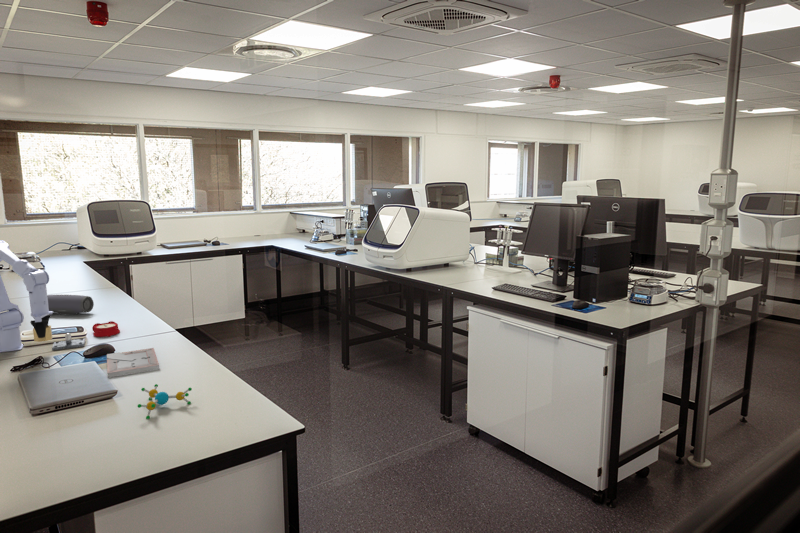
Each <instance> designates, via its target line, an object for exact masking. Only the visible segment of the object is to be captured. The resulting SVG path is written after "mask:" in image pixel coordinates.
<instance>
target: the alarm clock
mask: <svg viewBox="0 0 800 533" xmlns="http://www.w3.org/2000/svg"><path fill="white" fill-rule="evenodd" d="M92 331H93V337H97V338H103V337H104V338H105V337H107V338H108V337H109V338H110V337H111V336H116V335H118V334H119V333H121V330H120V328H119V324H118V323H117V322H115V321H113V320H110V321H107V322H103V323H99V322H97V323H94V324H93V325H92Z"/></svg>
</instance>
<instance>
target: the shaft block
mask: <svg viewBox="0 0 800 533" xmlns="http://www.w3.org/2000/svg"><path fill="white" fill-rule="evenodd" d="M64 336H65V340H61V341H55V342H53V343H52V347H51V351H60V350H69V349H76V348H83V347H85V345H86V344H85V343H86V338H85V337H84V338H78V339H72V335H71V333H70V332H67V333H65V335H64Z"/></svg>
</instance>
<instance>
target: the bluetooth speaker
mask: <svg viewBox="0 0 800 533" xmlns="http://www.w3.org/2000/svg"><path fill="white" fill-rule="evenodd" d="M47 298H48V307H49V311H53V313H57V315H62V314H66V315H68V316H70V315H71V316H77V315H79V314H86V313H87V314H88V313H89V312H91V311H93V309H94V306H95V304H94V300H93V298H92V296H88V295H78V294H47ZM66 315H65V316H66Z"/></svg>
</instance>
